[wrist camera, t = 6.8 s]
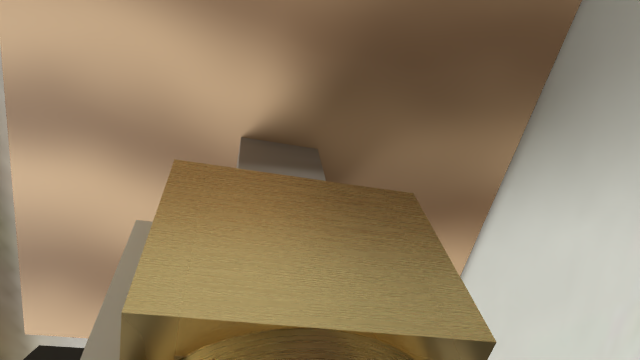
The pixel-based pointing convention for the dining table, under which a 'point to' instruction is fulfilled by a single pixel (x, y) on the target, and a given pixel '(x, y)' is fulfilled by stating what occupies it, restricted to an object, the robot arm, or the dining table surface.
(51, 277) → the plate
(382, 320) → the knob
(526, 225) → the dining table surface
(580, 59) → the dining table surface
